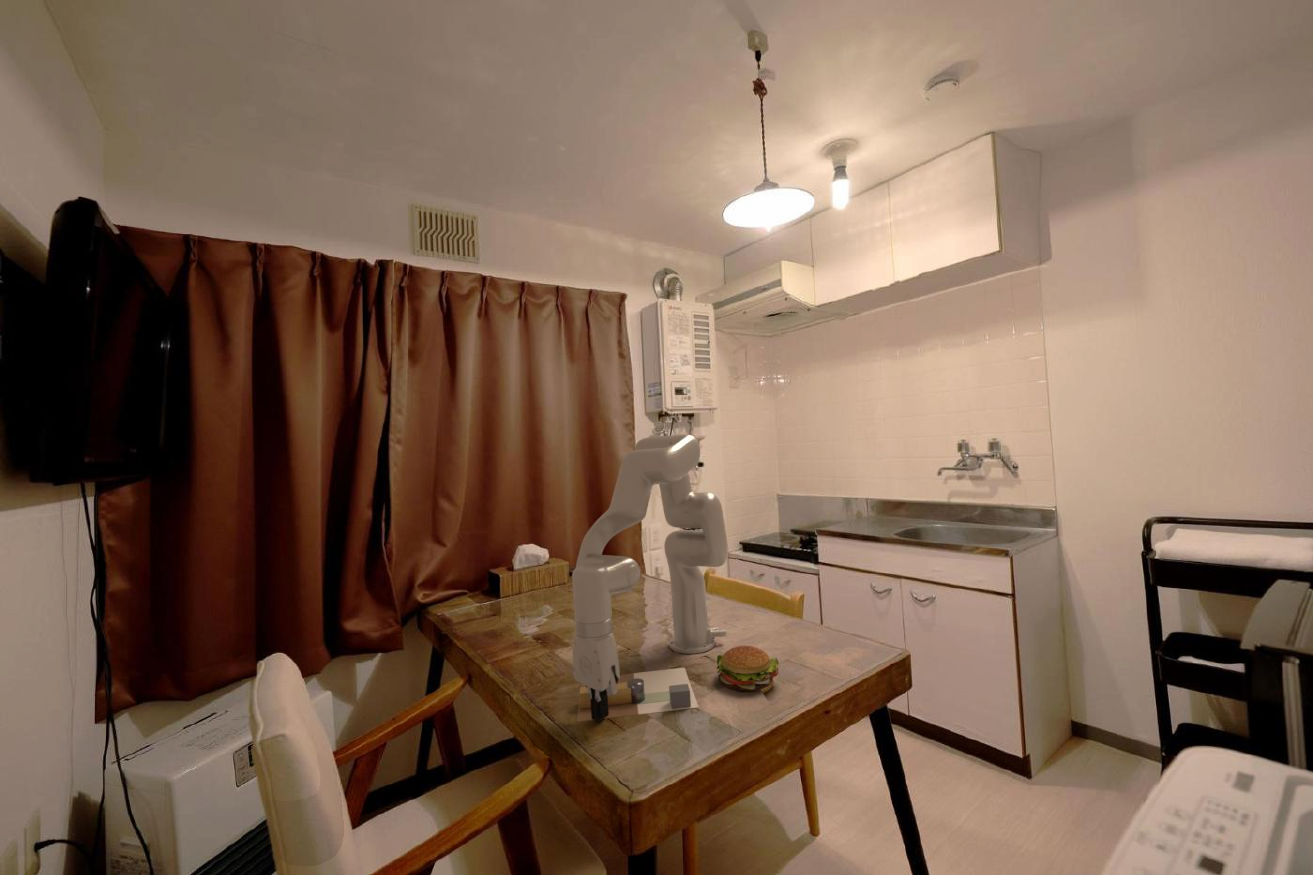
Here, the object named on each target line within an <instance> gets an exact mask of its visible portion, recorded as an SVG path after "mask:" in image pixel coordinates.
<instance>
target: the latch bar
mask: <svg viewBox="0 0 1313 875" xmlns="http://www.w3.org/2000/svg"><path fill="white" fill-rule="evenodd" d="M616 687H617V691H618V692H617V694H615V695H613V696H609V697H608V706H609V705H617V704H626V703H640V702H642V701H644V699H645V693H644V681H643V680H642V679H639V678H635V679H631V680H629V681H628V682H623V683H618V684H616ZM579 697H580V709H584V708H591V703H590V698H589V696H588V691H587V688H586V687H581V686H580V687H579Z"/></svg>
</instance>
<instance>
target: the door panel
mask: <svg viewBox="0 0 1313 875" xmlns="http://www.w3.org/2000/svg"><path fill="white" fill-rule="evenodd" d="M635 678H639V679H642V680H643V681H644V693H645V699H644V701H642V702H640V703H626V704H617V705H609V706H608V710H609V715H608V716H607V717H605V718H603V719H602V720H605V719H614V718H621V717H630V716H637V715H646V714H655V713H662V712H663V713H664V712H671V711H679V710H687V709H688V710H689V709H695V708H699V705H698V702H697V700H696V699H697V698H696V696H695V694H694V690H693V688H692V685H691V682H690V680H689V676H688V674H687V670H686V668H685V667H676V668H669V669H659V670H651V671H650V670H649V671H643V672H642V671H641V672H631V673H625V674H624V673H623V674H620V679H619V683H623V682H628V681H629V680H631V679H635ZM580 687H586V686H585V685H584V684H582V683H580ZM588 721H595V720H594V719H592V718H591V708H584V709H580V696H579V698H578V707H577V716H576V723H579V722H588Z"/></svg>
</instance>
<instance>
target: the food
mask: <svg viewBox="0 0 1313 875" xmlns="http://www.w3.org/2000/svg"><path fill="white" fill-rule="evenodd" d="M716 664H717V667H716V669H717V672H716V673H717V674H718V679H719V682H720V683H721V684H722V685H723V686H725V687H727V688H729V689H731V690H734V691H739V692H755V691H761V693H762V694H764V693H767V692H768V691H771V688H772V687H774V678H775V677H777V676H778V674H779V666H780V663H779V660H778V658H777V657H775V658H773V657H772V658H771V657H770V656H769V654H768V653H767V652H766V651H764V650H763V649H761V648H759V647H756V646H752V645H740V646H739V645H738V646H734V647H731V648H730V649H728V650H727V651H726V652H724V653H723V654H719V655H717V657H716Z"/></svg>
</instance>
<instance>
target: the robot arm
mask: <svg viewBox="0 0 1313 875" xmlns="http://www.w3.org/2000/svg"><path fill="white" fill-rule="evenodd" d="M700 456H701V446H700V443H699V441H698V439H697V438H695V436H693V435H691V434H675V435H674V434H673V435H657V436H649V437H648V436H647V437H645V438H641V439H640V440H638V441H637V443H636V444H635V448H634V450H631V451H628V452H627V453H626V454H625V455H624V456H623V458H622V460H621V463H620V467H619V472H618V475H617V479H616V483H615V487H614V491H613V494H612V497H611V502H610V504H609V508H608V509H607V510H606V511H605V512H604V513H603V514H601V516H600V517H599V518H598V519H596V521H595V522H594V523H593V525H591V527H589V530H587V532H586V534H585V535H584V538H583V539H582V542H581V545H580V549H579V552H578V556H577V560H576V564H575V568H574V570H573V571H572V574H571V579H572V596H573V608H574V609H573V610H574V611H573V612H574V624H575V625H574V626H575V632H574V633H573V634H574V635H573V642H572V671H573V674H572V675H573V678H574V679H575V681H577V682H578V683H579V684H581V683H582V684H584V685H585V686H586V688H587V691H588V696H589V698H590V703H591V718H592V719H594V720H593V721H596V722H599V721H601V720H604V719H603V718H605V717H607V716H608V715H609V710H608V697H609V696H613V695H615V694H617V692H618V691H617V687H616V684H618V683H619V679H620V675H621V674H620V673H621V672H620V662H619V655H618V648H617V642H616V638H615V635H614V624H613V612H612V597H613V596H617V595H620V594H624V593H625V594H626V593H628V592H630V591H632V590H633V589H635V587H636V586H637V585H638V583H639V581H640V578H641V577H640V576H641V568H640V566H639V564H638V563H637V561H636V560H634V558H631V557H627V556H622V555H609V554H608V555H607V554H603V551H604V549H605V547H606V545H607V544H608V542H610V540H612V538H613V537H614V536H616V535H617V534H619V533H621V532H622V531H624V530H626V529H628V528H631V527H632V526H634V525H637V524H638V523H641V521H643V520H644V519H645V518H646V515H647V512H648V511H647V510H648V507H649V502H650V497H651V493H652V489H653V486H654V485H659V486H658V487H659V491H660V492H659V493H660V498H661V502H662V504H661V505H662V508H663V515H664V519H665V521H666V523H667V525H668V526H670V527H672V528H679V529H680V530H679V529H678V530H674V531H672V532H670V533H669V534H668V535H667V536H666V538H665V541H664V543H663V544H664V554H665V558H666V561H667V566H668V571H669V579H670V580H669V581H670V592H671V593H670V594H671V605H672V607H671V608H672V619H673V620H672V622H673V636H672V637H671V638H670V640H669V641H668V647H669V648H670V649H671V651H673V652H676V653H678V654H679V653H680V654H685V655H686V654H687V655H688V654H689V655H691V654H700V653H704V652H707V651H710V650H711V649H713V648H714V647H715V644H716V642H715V641H716V640H715V638H718V637H719V638H722V637H727V632H726V628H723V629H720V628H719V627H713V628H712V627H710V626H709V620H708V606H707V604H708V603H707V592H706V591H707V590H706V580H705V577H704V575H703V573H702V571H701V569H700V567H702V568H703V567H704V568H718V567H721V566H723V565H725V564H726V562H727V559H728V556H729V546H728V539H727V531H726V525H725V518H724V511H723V507H722V504H721V501H720V499H719V498H718V497H717V495H715V493H711V492H703V491H702V492H695V491H694V490H693V488H692V484H691V479H690V475H689V472H691V471H692V470H693V469H695V467H696V466H697V464H698V463H699V459H700ZM696 529H700V530H696Z"/></svg>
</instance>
